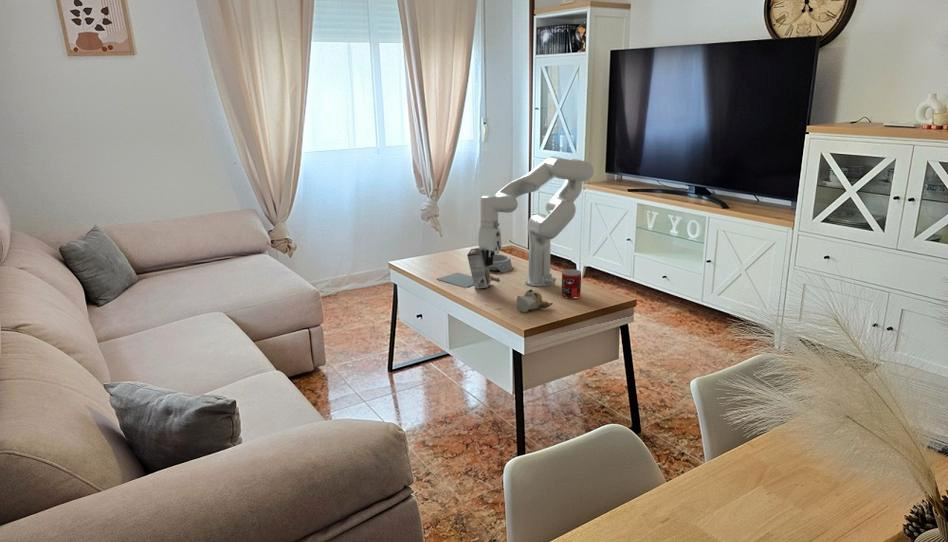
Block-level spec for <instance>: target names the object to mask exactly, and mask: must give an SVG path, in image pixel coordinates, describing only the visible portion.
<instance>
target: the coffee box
mask: <svg viewBox="0 0 948 542" xmlns="http://www.w3.org/2000/svg"><path fill="white" fill-rule="evenodd" d="M466 256H467V260H468V265H469V269H470V274H471V276H472V278H473V283H474V285H473V287H474V290H476V289H484V288H488V287H489V286H490V284H491V282H492V279H491V276H492V275H491V272H490V271H491V270H489V267H488V266H486V265H485V257H486V256H484V253H483V250H480V249H479V247H476V248H470V250H469V251H468V253H467V255H466ZM490 275H491V276H490Z"/></svg>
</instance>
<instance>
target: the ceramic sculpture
mask: <svg viewBox="0 0 948 542" xmlns="http://www.w3.org/2000/svg"><path fill="white" fill-rule="evenodd" d="M515 301H516V303H515V304H516V308H517V309H518V310H519V312H520V313H528V312H529V310H531V311H532V310H538V309H543V310H544V309H547V308H549V307H551V306H552V305H553V304H554V303H553V302H549V301H543V296H542V295H541V293H540V292H538V291H534V290H533V289H529V290H527V291H525V293H524V295H517V297H516V300H515Z"/></svg>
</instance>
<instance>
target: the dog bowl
mask: <svg viewBox="0 0 948 542" xmlns="http://www.w3.org/2000/svg"><path fill="white" fill-rule="evenodd" d="M488 267H489V271H499V272H500V273H505V272H509V271H511V270H513V265H512V260H511V257H510V256H509V255H506V254H502V253H499V254H495V255H494V256H493V265H490V266H488Z"/></svg>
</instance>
